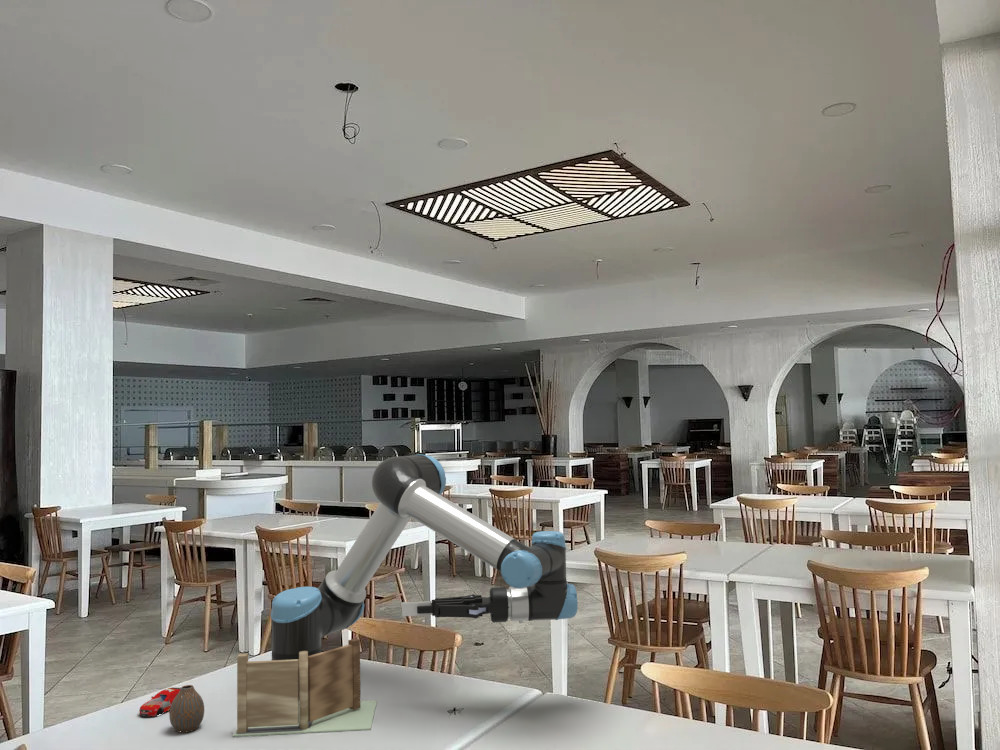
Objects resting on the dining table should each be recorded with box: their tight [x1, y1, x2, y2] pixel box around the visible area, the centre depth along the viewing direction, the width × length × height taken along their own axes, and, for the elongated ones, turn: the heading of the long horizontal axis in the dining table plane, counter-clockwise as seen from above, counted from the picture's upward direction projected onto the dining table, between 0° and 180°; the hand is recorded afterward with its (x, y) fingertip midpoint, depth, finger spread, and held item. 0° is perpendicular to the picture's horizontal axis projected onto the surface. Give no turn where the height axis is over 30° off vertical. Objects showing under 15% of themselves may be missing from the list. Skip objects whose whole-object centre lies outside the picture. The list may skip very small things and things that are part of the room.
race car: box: [138, 686, 182, 718], centre depth 179 cm, size 13×5×4 cm, turn 157°
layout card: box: [232, 699, 378, 738], centre depth 170 cm, size 17×28×1 cm, turn 95°
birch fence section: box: [236, 651, 308, 733], centre depth 164 cm, size 2×14×16 cm, turn 94°
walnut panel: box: [308, 638, 361, 722], centre depth 170 cm, size 13×2×15 cm, turn 140°
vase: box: [168, 684, 205, 733], centre depth 166 cm, size 7×7×9 cm
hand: (402, 609), depth 174 cm, fingers closed
